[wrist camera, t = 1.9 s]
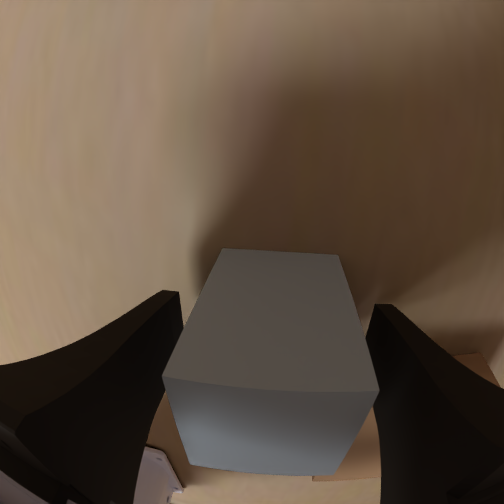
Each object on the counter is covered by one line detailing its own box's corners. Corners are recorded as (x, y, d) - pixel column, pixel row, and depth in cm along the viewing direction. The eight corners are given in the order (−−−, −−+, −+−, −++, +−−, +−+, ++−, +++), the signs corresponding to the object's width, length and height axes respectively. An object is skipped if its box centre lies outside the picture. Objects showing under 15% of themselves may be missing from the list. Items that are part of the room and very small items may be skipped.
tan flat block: (423, 433, 15) (432, 467, 12) (312, 441, 16) (312, 481, 13) (477, 348, 12) (500, 387, 9) (339, 354, 12) (347, 407, 10)
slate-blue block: (322, 343, 12) (333, 475, 6) (225, 336, 12) (190, 464, 7) (337, 254, 10) (379, 390, 5) (222, 247, 10) (161, 375, 5)
